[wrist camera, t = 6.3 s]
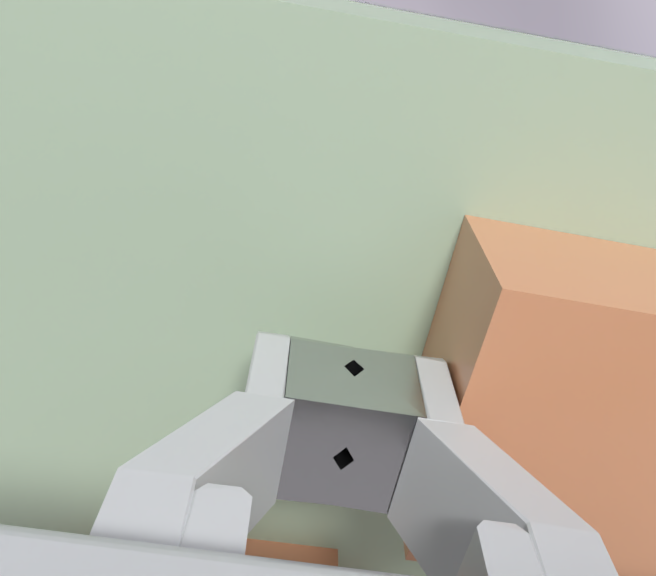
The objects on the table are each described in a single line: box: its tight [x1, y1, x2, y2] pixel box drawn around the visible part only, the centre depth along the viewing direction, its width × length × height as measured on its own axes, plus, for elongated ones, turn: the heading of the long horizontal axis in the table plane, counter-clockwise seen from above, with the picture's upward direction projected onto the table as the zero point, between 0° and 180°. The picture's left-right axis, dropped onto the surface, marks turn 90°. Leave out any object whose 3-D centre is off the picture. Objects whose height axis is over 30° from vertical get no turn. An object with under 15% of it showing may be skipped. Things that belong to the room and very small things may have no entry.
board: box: [0, 0, 656, 576], centre depth 14 cm, size 18×14×3 cm
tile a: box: [403, 215, 656, 576], centre depth 10 cm, size 5×5×2 cm
